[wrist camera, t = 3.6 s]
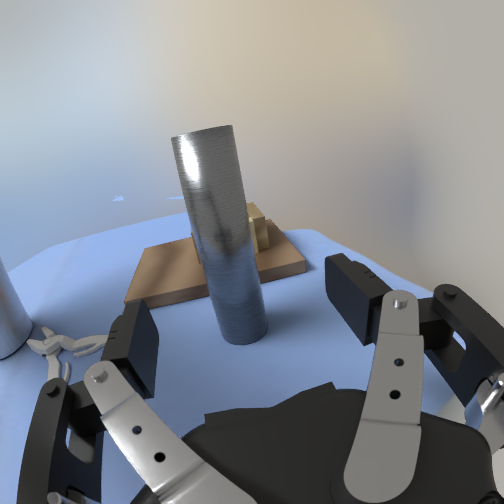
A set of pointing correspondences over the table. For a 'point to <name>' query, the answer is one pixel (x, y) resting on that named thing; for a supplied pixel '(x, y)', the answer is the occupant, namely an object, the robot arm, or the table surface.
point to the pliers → (57, 342)
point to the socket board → (190, 270)
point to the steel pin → (222, 230)
